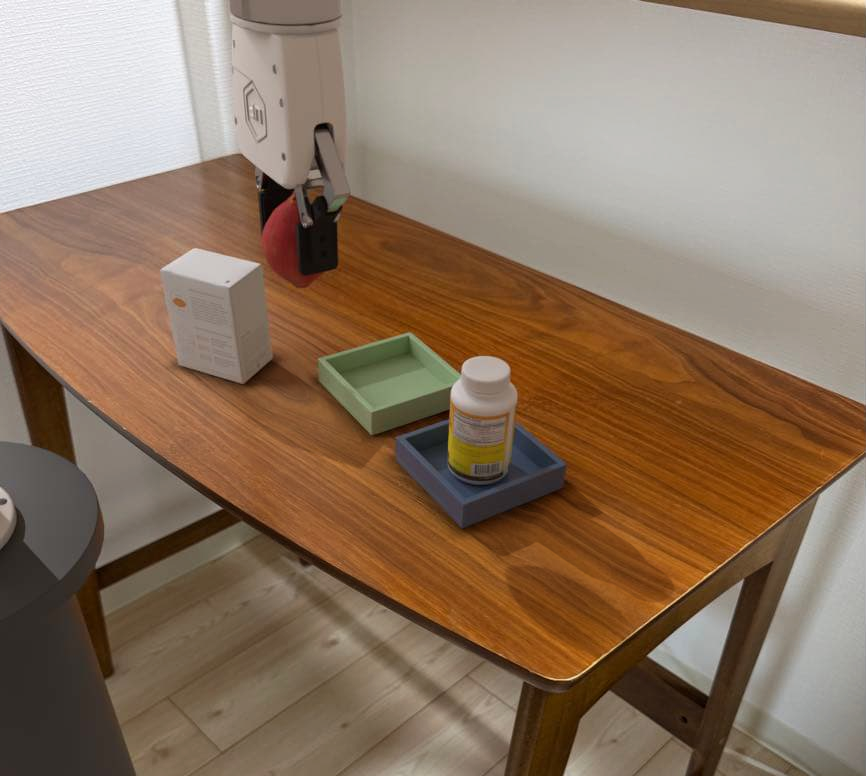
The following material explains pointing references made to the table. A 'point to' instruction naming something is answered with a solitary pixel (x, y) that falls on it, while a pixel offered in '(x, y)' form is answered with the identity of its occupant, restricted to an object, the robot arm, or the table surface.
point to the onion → (284, 243)
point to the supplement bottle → (482, 421)
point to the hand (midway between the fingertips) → (299, 252)
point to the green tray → (389, 382)
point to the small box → (218, 314)
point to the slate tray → (471, 503)
